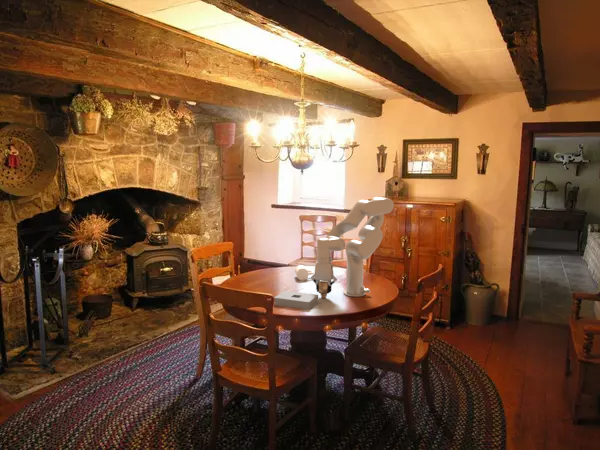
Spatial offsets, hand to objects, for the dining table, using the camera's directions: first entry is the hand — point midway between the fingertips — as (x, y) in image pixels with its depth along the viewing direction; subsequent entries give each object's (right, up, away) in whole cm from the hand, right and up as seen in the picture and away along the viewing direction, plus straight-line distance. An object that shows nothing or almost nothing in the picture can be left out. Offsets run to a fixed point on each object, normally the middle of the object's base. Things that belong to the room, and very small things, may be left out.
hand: (323, 291), depth 244 cm
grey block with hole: (-15, -5, -10) cm, 19 cm away
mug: (-10, +2, +44) cm, 45 cm away
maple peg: (0, -4, 0) cm, 4 cm away
